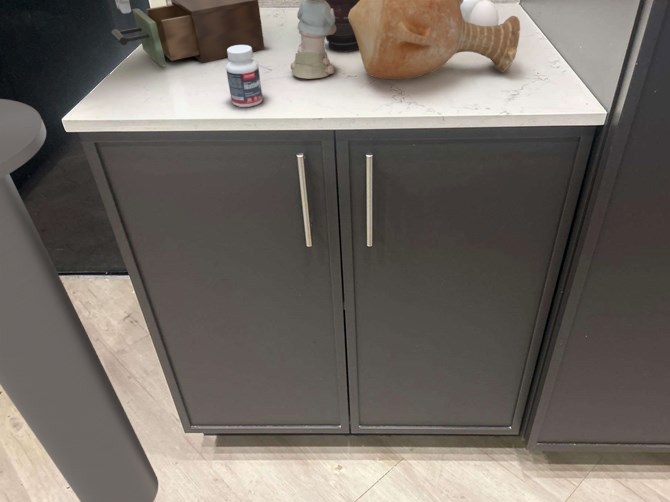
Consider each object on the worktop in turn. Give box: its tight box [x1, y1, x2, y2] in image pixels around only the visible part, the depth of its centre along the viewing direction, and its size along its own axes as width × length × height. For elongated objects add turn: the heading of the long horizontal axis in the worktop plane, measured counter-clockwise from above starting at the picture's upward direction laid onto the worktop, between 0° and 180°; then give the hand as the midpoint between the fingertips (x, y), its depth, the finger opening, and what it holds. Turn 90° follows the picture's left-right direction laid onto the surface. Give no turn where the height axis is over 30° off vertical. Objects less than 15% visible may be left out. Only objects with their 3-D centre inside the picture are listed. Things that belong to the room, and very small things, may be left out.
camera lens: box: [325, 0, 360, 53], centre depth 113 cm, size 8×8×15 cm
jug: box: [348, 0, 521, 80], centre depth 101 cm, size 20×19×30 cm
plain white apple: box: [460, 0, 483, 23], centre depth 127 cm, size 7×7×8 cm
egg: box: [469, 0, 500, 26], centre depth 118 cm, size 6×6×8 cm
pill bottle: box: [225, 45, 263, 108], centre depth 95 cm, size 5×5×9 cm
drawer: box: [111, 3, 199, 67], centre depth 112 cm, size 18×11×8 cm, turn 123°
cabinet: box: [170, 0, 266, 64], centre depth 116 cm, size 14×13×10 cm
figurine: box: [290, 0, 336, 80], centre depth 101 cm, size 9×8×20 cm
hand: (124, 11), depth 106 cm, fingers closed
